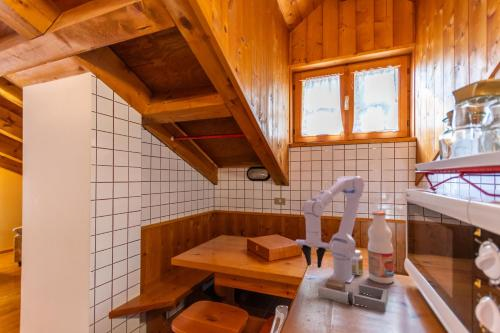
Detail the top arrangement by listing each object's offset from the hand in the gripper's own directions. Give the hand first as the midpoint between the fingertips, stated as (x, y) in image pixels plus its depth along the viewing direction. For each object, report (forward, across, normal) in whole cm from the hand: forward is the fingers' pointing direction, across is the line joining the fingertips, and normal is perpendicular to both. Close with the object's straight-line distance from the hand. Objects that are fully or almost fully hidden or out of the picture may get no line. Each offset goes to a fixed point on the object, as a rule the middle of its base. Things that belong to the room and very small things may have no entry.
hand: (314, 266), depth 98 cm
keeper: (+8, +9, -6) cm, 14 cm away
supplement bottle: (+9, +11, +24) cm, 28 cm away
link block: (+9, +8, 0) cm, 12 cm away
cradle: (+8, +20, 0) cm, 22 cm away
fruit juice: (+9, +21, +22) cm, 32 cm away
